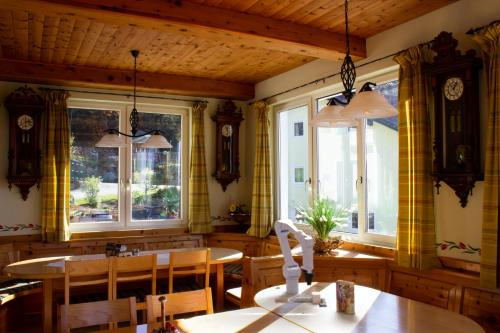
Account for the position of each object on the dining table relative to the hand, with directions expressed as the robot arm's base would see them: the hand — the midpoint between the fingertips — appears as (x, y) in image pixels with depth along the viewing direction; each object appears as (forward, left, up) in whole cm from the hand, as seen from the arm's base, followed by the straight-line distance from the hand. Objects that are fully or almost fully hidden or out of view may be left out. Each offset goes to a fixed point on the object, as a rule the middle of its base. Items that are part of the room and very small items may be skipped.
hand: (308, 283), depth 238 cm
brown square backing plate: (+5, -15, -9) cm, 18 cm away
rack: (+5, 0, -9) cm, 11 cm away
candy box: (+19, +18, -10) cm, 28 cm away
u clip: (+5, +4, -9) cm, 11 cm away
